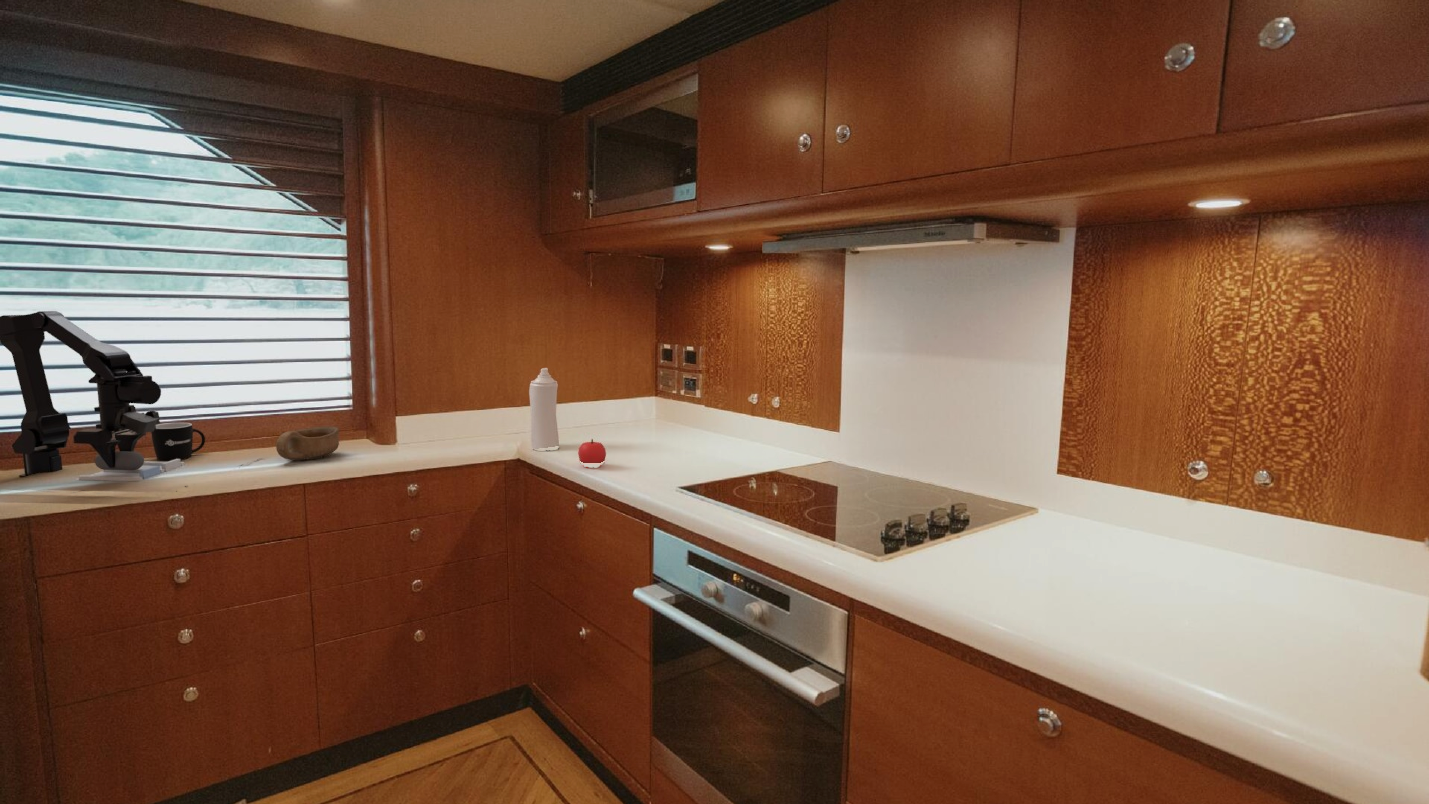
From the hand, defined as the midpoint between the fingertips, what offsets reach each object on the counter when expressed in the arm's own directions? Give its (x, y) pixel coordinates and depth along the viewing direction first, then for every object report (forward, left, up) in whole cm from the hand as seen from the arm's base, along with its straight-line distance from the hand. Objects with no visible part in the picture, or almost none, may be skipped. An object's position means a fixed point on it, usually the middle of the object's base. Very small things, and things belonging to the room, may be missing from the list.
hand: (119, 465), depth 179 cm
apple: (+112, +25, -4) cm, 114 cm away
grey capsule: (0, 0, -1) cm, 1 cm away
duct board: (+1, +4, -4) cm, 5 cm away
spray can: (+94, +49, -4) cm, 106 cm away
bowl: (+32, +27, -4) cm, 42 cm away
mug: (+1, +21, -4) cm, 21 cm away
